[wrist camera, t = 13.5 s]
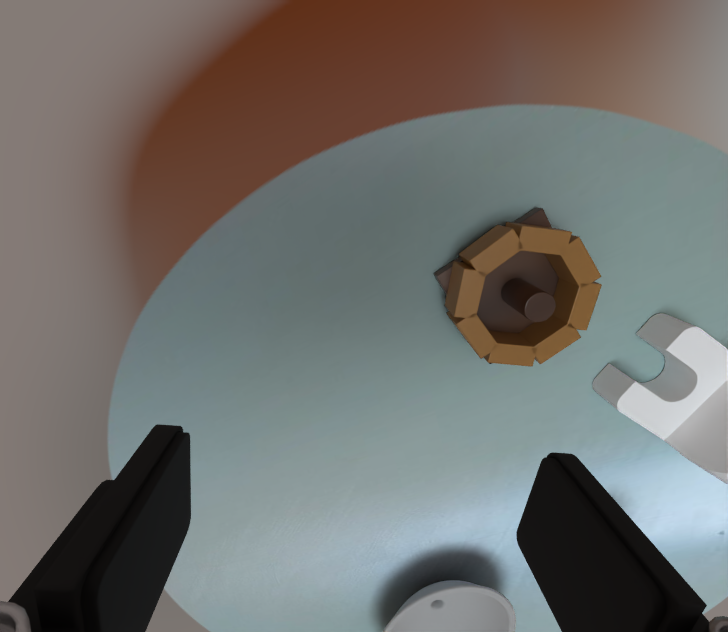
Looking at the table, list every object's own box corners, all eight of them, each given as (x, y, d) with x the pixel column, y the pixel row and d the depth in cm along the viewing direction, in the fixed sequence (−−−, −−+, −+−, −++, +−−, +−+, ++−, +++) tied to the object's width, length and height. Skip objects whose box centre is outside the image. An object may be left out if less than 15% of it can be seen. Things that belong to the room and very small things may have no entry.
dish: (426, 526, 43) (437, 568, 38) (525, 568, 46) (546, 612, 41) (348, 622, 47) (349, 671, 43) (442, 655, 50) (453, 704, 46)
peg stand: (433, 273, 33) (450, 291, 28) (535, 207, 32) (575, 212, 26) (485, 358, 36) (510, 389, 31) (581, 301, 35) (625, 323, 29)
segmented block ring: (422, 280, 32) (429, 290, 29) (536, 194, 30) (556, 196, 27) (490, 372, 35) (503, 389, 33) (597, 300, 34) (621, 311, 31)
